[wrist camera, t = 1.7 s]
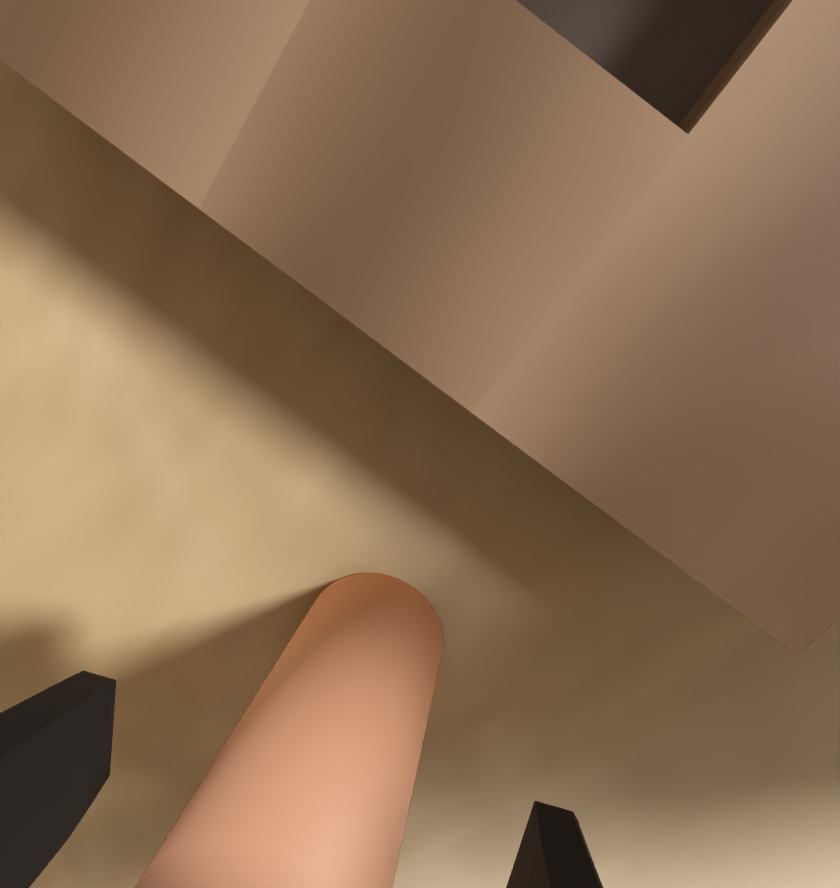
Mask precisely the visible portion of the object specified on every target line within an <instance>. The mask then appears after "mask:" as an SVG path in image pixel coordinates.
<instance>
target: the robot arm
mask: <svg viewBox="0 0 840 888" xmlns="http://www.w3.org/2000/svg"><path fill="white" fill-rule="evenodd" d="M115 689H116V680H114V679H110V678H107V677H103V676H100V675H96V674H93V673H89V672H86V671H82V672H80V673H78V674H75V675H73V676H71V677H69V678H67V679H65V680H63V681H61V682H59V683H57V684H56V685H54V686H52V687H50V688H48V689H46V690H44V691H42V692H40V693H38V694H36V695H34V696H32V697H30V698H29V699H27V700H25V701H23V702H21V703H19V704H17V705H15V706H13V707H11V708H9V709H7V710H5V711H4V712H2V713H0V888H29V887H30V886H31V884H32V883H33V882H34V881H35V879H36V878H37V877H38V876H39V874H40V873H41V872H42V871H43V869H44V868H45V867H46V866H47V864H48V863H49V862H50V861H51V859H52V858H53V857H54V856H55V854H56V853H57V852H58V851H59V849H60V848H61V847H62V846H63V844H64V843H65V842H66V841H67V839H68V838H69V837H70V835H71V834H72V832H73V831H74V829H75V828H76V826H77V825H78V823H79V822H80V820H81V819H82V817H83V816H84V814H85V813H86V811H87V810H88V808H89V807H90V805H91V804H92V802H93V801H94V799H95V797H96V796H97V794H98V793H99V791H100V790H101V788H102V786H103V785H104V783H105V782H106V780H107V779H108V777H109V775H110V763H111V748H112V733H113V719H114V704H115ZM506 888H603V886H602V883H601V881H600V879H599V876H598V873H597V871H596V868H595V866H594V863H593V860H592V858H591V855H590V852H589V850H588V847H587V844H586V842H585V839H584V836H583V833H582V831H581V828H580V825H579V822H578V819H577V818H576V816H575V814H574V813H573V812H572V811H569V810H565V809H562V808H558V807H555V806H551V805H548V804H544V803H541V802H537V801H535V802H534V805H533V808H532V811H531V814H530V817H529V820H528V823H527V826H526V829H525V832H524V835H523V838H522V841H521V845H520V848H519V851H518V854H517V857H516V860H515V863H514V866H513V869H512V872H511V875H510V878H509V881H508V884H507V887H506Z"/></svg>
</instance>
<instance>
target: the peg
mask: <svg viewBox="0 0 840 888" xmlns="http://www.w3.org/2000/svg"><path fill="white" fill-rule="evenodd" d="M443 641H444V640H443V631H442V627H441V623H440V621H439V618H438V616H437V614H436V612H435V610H434V608H433V607H432V606H431V604H430V603H429V602H428V600H427V599H426V598H425V597H424V596H423V595H422V594H421V593H420V592H418V591H417V590H416V589H415V588H413V587H412V586H410V585H409V584H407V583H405V582H403V581H401V580H399V579H397V578H394V577H391V576H387V575H383V574H377V573H359V574H353V575H349V576H346V577H343V578H341V579H338V580H337V581H335V582H333V583H332V584H330V585H329V586H328V587H326V588H325V589H324V590H323V591H322V592H321V594H320V595H319V596H318V597H317V599H316V601H315V602H314V604H313V605H312V607H311V608H310V610H309V612H308V613H307V615H306V616H305V618H304V620H303V621H302V623H301V624H300V626H299V628H298V629H297V631H296V632H295V634H294V635H293V637H292V639H291V640H290V642H289V643H288V645H287V647H286V648H285V650H284V651H283V653H282V655H281V656H280V658H279V659H278V661H277V662H276V664H275V666H274V667H273V669H272V670H271V672H270V674H269V675H268V677H267V678H266V680H265V682H264V683H263V685H262V686H261V688H260V689H259V691H258V693H257V694H256V696H255V697H254V699H253V701H252V702H251V704H250V705H249V707H248V709H247V710H246V712H245V713H244V715H243V717H242V718H241V720H240V721H239V723H238V724H237V726H236V728H235V729H234V731H233V732H232V734H231V736H230V737H229V739H228V740H227V742H226V744H225V745H224V747H223V748H222V750H221V751H220V753H219V755H218V756H217V758H216V759H215V761H214V763H213V764H212V766H211V767H210V769H209V771H208V772H207V774H206V775H205V777H204V778H203V780H202V782H201V783H200V785H199V786H198V788H197V790H196V791H195V793H194V794H193V796H192V798H191V799H190V801H189V802H188V804H187V805H186V807H185V809H184V810H183V812H182V813H181V815H180V817H179V818H178V820H177V821H176V823H175V825H174V826H173V828H172V829H171V831H170V833H169V834H168V836H167V837H166V839H165V840H164V842H163V844H162V845H161V847H160V848H159V850H158V852H157V853H156V855H155V856H154V858H153V860H152V861H151V863H150V864H149V866H148V867H147V869H146V871H145V872H144V874H143V875H142V877H141V879H140V880H139V882H138V883H137V885H136V887H135V888H392V886H393V881H394V877H395V872H396V867H397V863H398V858H399V853H400V848H401V844H402V839H403V834H404V830H405V825H406V820H407V816H408V811H409V806H410V802H411V797H412V792H413V787H414V783H415V778H416V773H417V769H418V764H419V759H420V755H421V750H422V745H423V741H424V736H425V731H426V726H427V722H428V717H429V712H430V708H431V703H432V698H433V694H434V689H435V684H436V680H437V675H438V670H439V665H440V661H441V656H442V651H443Z"/></svg>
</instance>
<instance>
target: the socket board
mask: <svg viewBox="0 0 840 888" xmlns="http://www.w3.org/2000/svg"><path fill="white" fill-rule="evenodd" d="M0 61H2V62H3V63H4V64H6V65H7V66H8V67H10V68H11V69H12V70H14V71H15V72H16V73H18V74H19V75H20V76H22V77H23V78H24V79H26V80H27V81H28V82H30V83H31V84H32V85H34V86H35V87H36V88H38V89H39V90H40V91H42V92H43V93H44V94H46V95H47V96H48V97H50V98H51V99H52V100H54V101H55V102H56V103H58V104H59V105H60V106H62V107H63V108H64V109H66V110H67V111H68V112H70V113H71V114H72V115H74V116H75V117H76V118H78V119H79V120H80V121H82V122H83V123H84V124H86V125H87V126H88V127H90V128H91V129H92V130H94V131H95V132H96V133H98V134H99V135H101V136H102V137H103V138H105V139H106V140H107V141H109V142H110V143H111V144H113V145H114V146H115V147H117V148H118V149H119V150H121V151H122V152H123V153H125V154H126V155H127V156H129V157H130V158H131V159H133V160H134V161H135V162H137V163H138V164H139V165H141V166H142V167H143V168H145V169H146V170H147V171H149V172H150V173H151V174H153V175H154V176H155V177H157V178H158V179H159V180H161V181H162V182H163V183H165V184H166V185H167V186H169V187H170V188H171V189H173V190H174V191H175V192H177V193H178V194H179V195H181V196H182V197H183V198H185V199H186V200H187V201H189V202H190V203H191V204H193V205H194V206H195V207H197V208H198V209H199V210H201V211H202V212H203V213H205V214H206V215H207V216H209V217H210V218H212V219H213V220H214V221H216V222H217V223H218V224H220V225H221V226H222V227H224V228H225V229H226V230H228V231H229V232H230V233H232V234H233V235H234V236H236V237H237V238H238V239H240V240H241V241H242V242H244V243H245V244H246V245H248V246H249V247H250V248H252V249H253V250H254V251H256V252H257V253H258V254H260V255H261V256H262V257H264V258H265V259H266V260H268V261H269V262H270V263H272V264H273V265H274V266H276V267H277V268H278V269H280V270H281V271H282V272H284V273H285V274H286V275H288V276H289V277H290V278H292V279H293V280H294V281H296V282H297V283H298V284H300V285H301V286H302V287H304V288H305V289H306V290H308V291H309V292H310V293H312V294H313V295H314V296H316V297H317V298H318V299H320V300H321V301H323V302H324V303H325V304H327V305H328V306H329V307H331V308H332V309H333V310H335V311H336V312H337V313H339V314H340V315H341V316H343V317H344V318H345V319H347V320H348V321H349V322H351V323H352V324H353V325H355V326H356V327H357V328H359V329H360V330H361V331H363V332H364V333H365V334H367V335H368V336H369V337H371V338H372V339H373V340H375V341H376V342H377V343H379V344H380V345H381V346H383V347H384V348H385V349H387V350H388V351H389V352H391V353H392V354H393V355H395V356H396V357H397V358H399V359H400V360H401V361H403V362H404V363H405V364H407V365H408V366H409V367H411V368H412V369H413V370H415V371H416V372H417V373H419V374H420V375H421V376H423V377H424V378H425V379H427V380H428V381H429V382H431V383H432V384H434V385H435V386H436V387H438V388H439V389H440V390H442V391H443V392H444V393H446V394H447V395H448V396H450V397H451V398H452V399H454V400H455V401H456V402H458V403H459V404H460V405H462V406H463V407H464V408H466V409H467V410H468V411H470V412H471V413H472V414H474V415H475V416H476V417H478V418H479V419H480V420H482V421H483V422H484V423H486V424H487V425H488V426H490V427H491V428H492V429H494V430H495V431H496V432H498V433H499V434H500V435H502V436H503V437H504V438H506V439H507V440H508V441H510V442H511V443H512V444H514V445H515V446H516V447H518V448H519V449H520V450H522V451H523V452H524V453H526V454H527V455H528V456H530V457H531V458H532V459H534V460H535V461H536V462H538V463H539V464H540V465H542V466H543V467H545V468H546V469H547V470H549V471H550V472H551V473H553V474H554V475H555V476H557V477H558V478H559V479H561V480H562V481H563V482H565V483H566V484H567V485H569V486H570V487H571V488H573V489H574V490H575V491H577V492H578V493H579V494H581V495H582V496H583V497H585V498H586V499H587V500H589V501H590V502H591V503H593V504H594V505H595V506H597V507H598V508H599V509H601V510H602V511H603V512H605V513H606V514H607V515H609V516H610V517H611V518H613V519H614V520H615V521H617V522H618V523H619V524H621V525H622V526H623V527H625V528H626V529H627V530H629V531H630V532H631V533H633V534H634V535H635V536H637V537H638V538H639V539H641V540H642V541H643V542H645V543H646V544H647V545H649V546H650V547H651V548H653V549H654V550H656V551H657V552H658V553H660V554H661V555H662V556H664V557H665V558H666V559H668V560H669V561H670V562H672V563H673V564H674V565H676V566H677V567H678V568H680V569H681V570H682V571H684V572H685V573H686V574H688V575H689V576H690V577H692V578H693V579H694V580H696V581H697V582H698V583H700V584H701V585H702V586H704V587H705V588H706V589H708V590H709V591H710V592H712V593H713V594H714V595H716V596H717V597H718V598H720V599H721V600H722V601H724V602H725V603H726V604H728V605H729V606H730V607H732V608H733V609H734V610H736V611H737V612H738V613H740V614H741V615H742V616H744V617H745V618H746V619H748V620H749V621H750V622H752V623H753V624H754V625H756V626H757V627H758V628H760V629H761V630H762V631H764V632H765V633H767V634H768V635H769V636H771V637H772V638H773V639H775V640H776V641H777V642H779V643H780V644H781V645H783V646H784V647H785V648H787V649H788V650H789V651H791V652H792V653H793V654H795V655H797V654H798V653H800V652H801V651H802V650H803V649H804V648H805V647H807V646H808V645H809V644H810V643H811V642H812V641H814V640H815V639H816V638H817V637H818V636H819V635H820V634H822V633H823V632H824V631H825V630H826V629H827V628H829V627H830V626H831V625H832V624H833V623H834V622H836V621H837V620H838V619H839V618H840V0H0Z"/></svg>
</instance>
